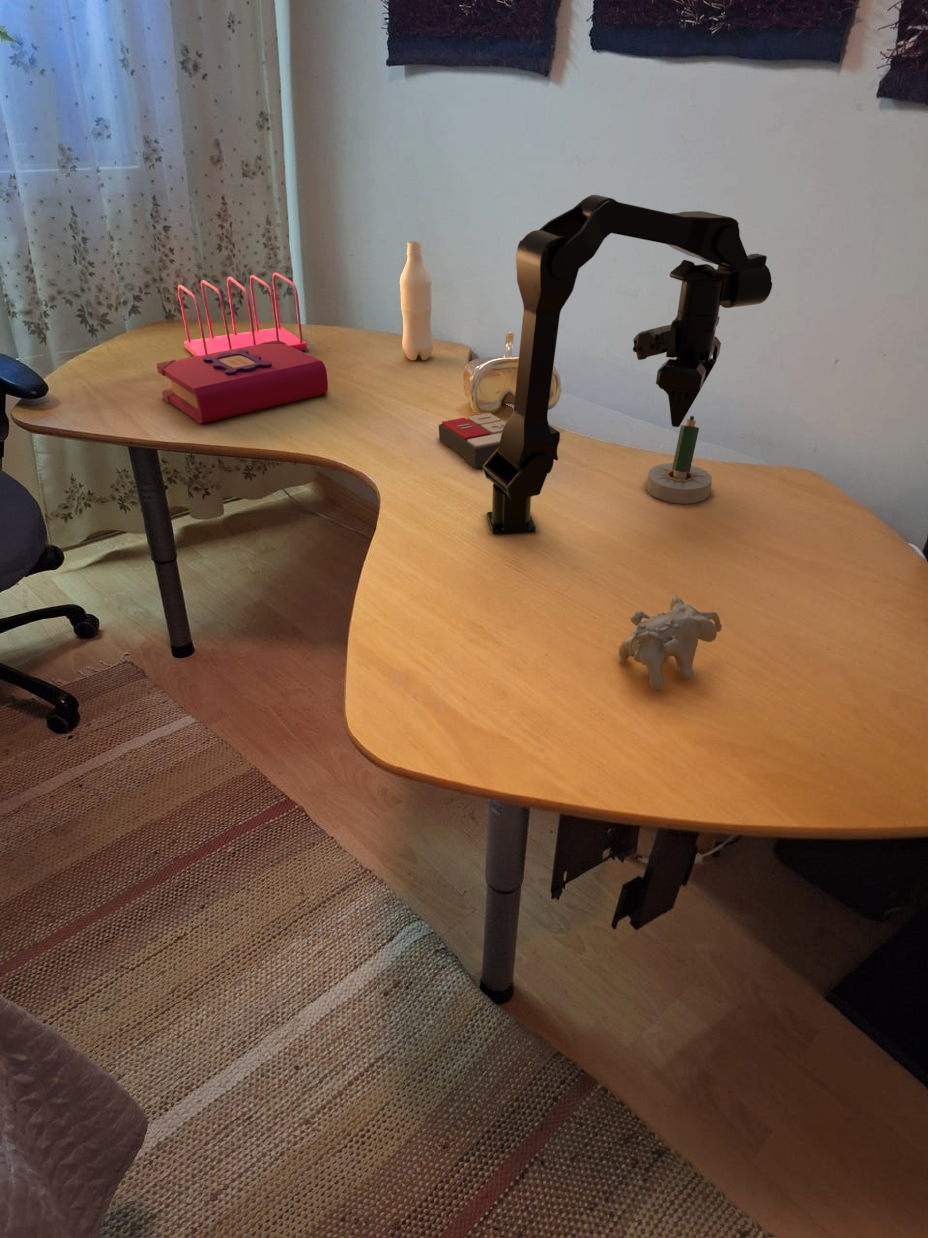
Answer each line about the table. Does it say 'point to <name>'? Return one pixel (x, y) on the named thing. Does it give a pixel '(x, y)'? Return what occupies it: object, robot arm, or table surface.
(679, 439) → the pencil
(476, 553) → the table surface
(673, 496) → the tape
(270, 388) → the book
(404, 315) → the water bottle
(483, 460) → the calculator
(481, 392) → the diving goggles
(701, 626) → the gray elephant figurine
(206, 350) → the file sorter
